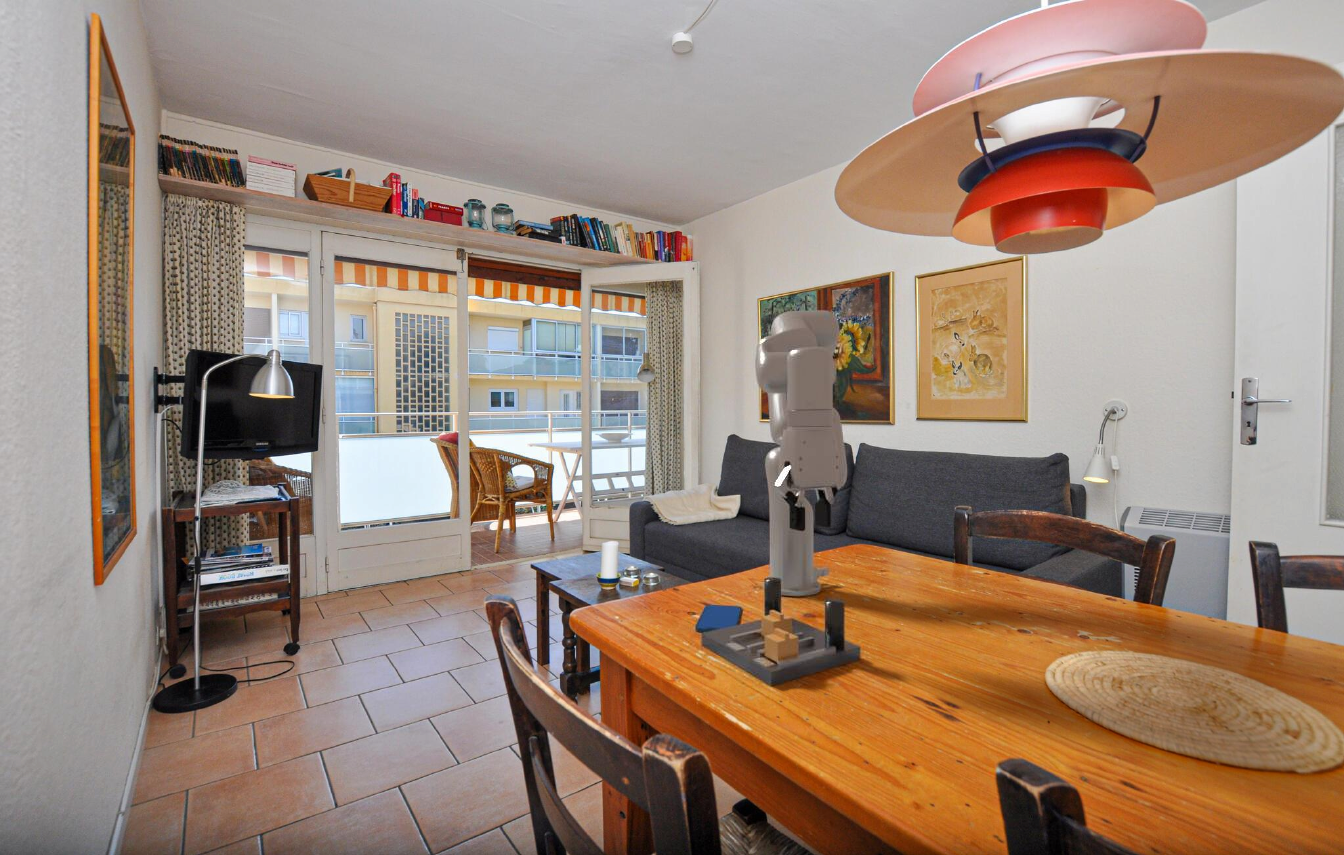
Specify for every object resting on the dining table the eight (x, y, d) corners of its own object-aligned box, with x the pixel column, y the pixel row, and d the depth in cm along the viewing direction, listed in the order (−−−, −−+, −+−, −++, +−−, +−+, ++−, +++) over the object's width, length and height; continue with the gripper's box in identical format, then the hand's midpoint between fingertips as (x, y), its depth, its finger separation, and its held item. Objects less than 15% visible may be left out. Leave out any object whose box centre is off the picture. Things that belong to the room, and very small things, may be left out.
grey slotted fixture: (780, 623, 110) (780, 575, 110) (860, 659, 94) (860, 602, 94) (698, 643, 101) (697, 590, 101) (771, 686, 85) (770, 623, 85)
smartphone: (742, 606, 120) (735, 630, 105) (742, 611, 120) (735, 636, 105) (705, 604, 121) (694, 628, 107) (705, 609, 121) (694, 633, 107)
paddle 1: (780, 630, 101) (779, 607, 101) (792, 635, 98) (792, 612, 98) (761, 634, 99) (761, 611, 99) (773, 640, 96) (773, 617, 96)
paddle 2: (785, 650, 92) (784, 625, 92) (798, 656, 90) (798, 631, 89) (764, 655, 90) (764, 630, 90) (777, 662, 88) (777, 636, 87)
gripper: (830, 420, 109) (830, 520, 109) (756, 421, 100) (756, 529, 101) (862, 420, 103) (862, 526, 103) (786, 421, 94) (786, 537, 94)
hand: (810, 526), depth 102 cm, fingers open, 5 cm apart
